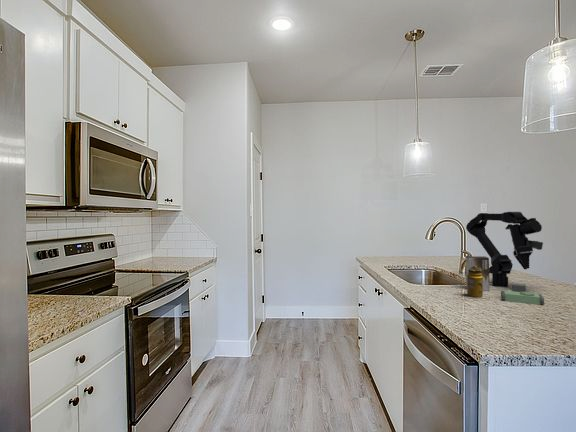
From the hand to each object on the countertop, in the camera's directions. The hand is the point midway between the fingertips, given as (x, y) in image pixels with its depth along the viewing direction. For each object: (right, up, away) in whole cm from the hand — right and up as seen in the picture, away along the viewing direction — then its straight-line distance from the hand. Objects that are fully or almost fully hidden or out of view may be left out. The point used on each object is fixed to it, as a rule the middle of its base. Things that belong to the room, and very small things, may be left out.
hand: (526, 268), depth 156 cm
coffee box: (-19, -11, +7) cm, 23 cm away
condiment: (-29, -12, -7) cm, 32 cm away
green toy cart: (-12, -11, -13) cm, 21 cm away
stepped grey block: (-6, -11, -3) cm, 13 cm away
